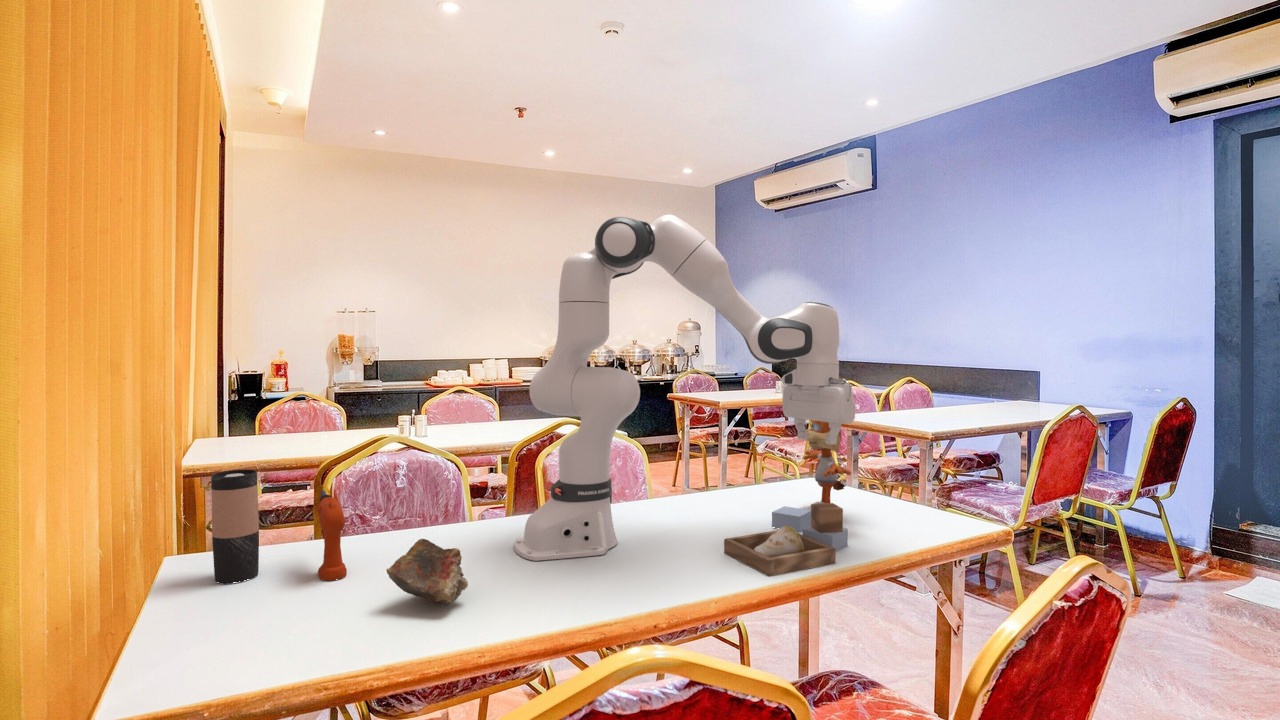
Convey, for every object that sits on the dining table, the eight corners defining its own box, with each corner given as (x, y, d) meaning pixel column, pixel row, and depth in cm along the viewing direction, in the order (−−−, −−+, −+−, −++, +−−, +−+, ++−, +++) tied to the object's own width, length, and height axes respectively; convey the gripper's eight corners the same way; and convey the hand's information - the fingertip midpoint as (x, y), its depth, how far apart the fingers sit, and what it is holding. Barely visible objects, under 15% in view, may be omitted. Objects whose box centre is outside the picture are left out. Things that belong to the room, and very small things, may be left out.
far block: (799, 533, 156) (799, 516, 155) (771, 528, 160) (771, 512, 160) (811, 527, 161) (811, 510, 161) (784, 522, 165) (784, 506, 165)
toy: (788, 504, 182) (788, 393, 181) (830, 504, 182) (830, 393, 181) (812, 536, 152) (812, 404, 151) (862, 536, 152) (863, 404, 151)
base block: (832, 554, 141) (832, 535, 141) (802, 547, 145) (802, 529, 145) (847, 546, 146) (847, 528, 146) (818, 540, 151) (818, 522, 150)
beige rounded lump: (743, 562, 136) (758, 515, 139) (783, 580, 138) (798, 534, 141) (759, 565, 129) (775, 515, 132) (802, 584, 131) (817, 535, 134)
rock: (442, 585, 123) (441, 531, 123) (488, 600, 116) (487, 543, 116) (382, 607, 113) (381, 549, 113) (429, 625, 106) (428, 563, 106)
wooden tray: (768, 576, 127) (768, 560, 127) (724, 552, 141) (724, 538, 141) (835, 563, 134) (835, 548, 134) (786, 542, 148) (786, 528, 148)
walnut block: (842, 531, 143) (842, 508, 143) (820, 533, 143) (820, 509, 142) (832, 525, 148) (832, 503, 148) (811, 526, 148) (811, 503, 147)
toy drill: (335, 544, 143) (335, 476, 141) (349, 582, 127) (349, 507, 125) (310, 548, 141) (309, 479, 139) (321, 587, 125) (320, 510, 123)
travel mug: (263, 568, 133) (260, 468, 132) (256, 581, 126) (253, 475, 125) (218, 573, 130) (215, 471, 129) (208, 587, 123) (206, 478, 122)
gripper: (863, 378, 137) (862, 446, 137) (800, 376, 156) (799, 436, 156) (838, 378, 135) (837, 447, 134) (777, 376, 153) (776, 437, 153)
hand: (816, 441), depth 145 cm, fingers open, 8 cm apart
